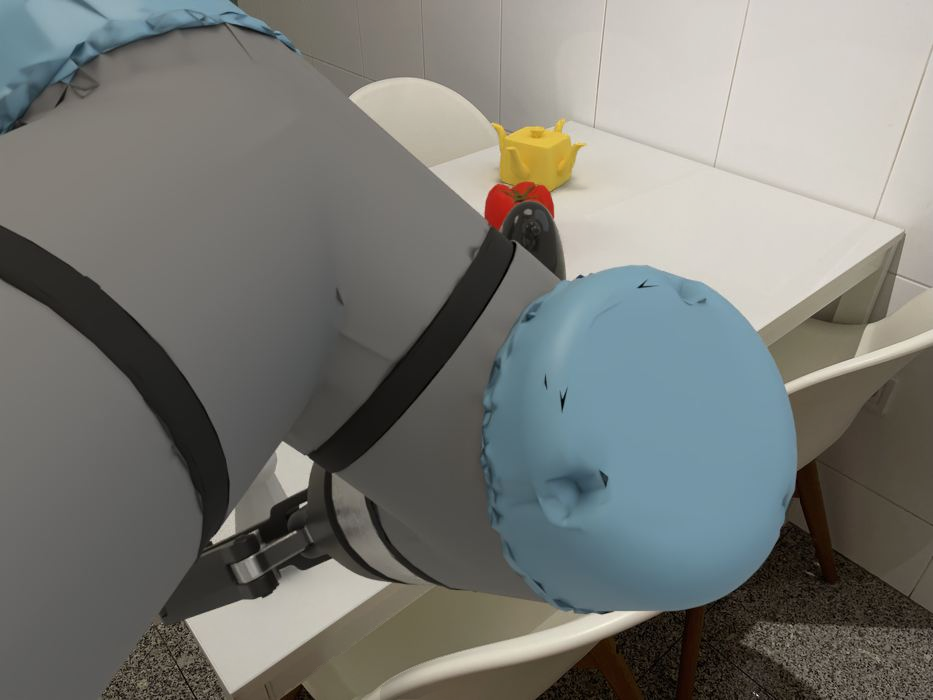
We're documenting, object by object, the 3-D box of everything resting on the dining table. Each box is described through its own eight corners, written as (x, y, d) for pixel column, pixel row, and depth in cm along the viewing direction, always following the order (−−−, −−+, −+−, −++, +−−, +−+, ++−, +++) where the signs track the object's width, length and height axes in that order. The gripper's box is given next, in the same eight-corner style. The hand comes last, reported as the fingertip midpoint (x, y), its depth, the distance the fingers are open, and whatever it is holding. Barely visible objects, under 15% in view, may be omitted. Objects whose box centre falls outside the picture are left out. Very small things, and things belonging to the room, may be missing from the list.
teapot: (490, 167, 134) (490, 117, 128) (561, 162, 135) (565, 112, 130) (505, 199, 122) (506, 145, 116) (583, 192, 124) (588, 139, 118)
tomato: (485, 261, 104) (484, 205, 99) (484, 225, 114) (483, 172, 109) (556, 260, 104) (560, 204, 99) (549, 224, 114) (552, 171, 108)
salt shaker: (317, 564, 61) (293, 459, 53) (253, 594, 59) (217, 488, 51) (295, 519, 65) (269, 415, 57) (234, 545, 63) (199, 440, 55)
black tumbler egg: (492, 332, 89) (492, 223, 80) (484, 290, 98) (484, 187, 89) (571, 327, 90) (580, 219, 81) (557, 286, 98) (563, 183, 89)
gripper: (142, 788, 21) (136, 676, 40) (669, 432, 33) (477, 474, 52) (37, 566, 22) (80, 557, 40) (598, 293, 34) (432, 383, 52)
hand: (304, 510), depth 46 cm, fingers open, 13 cm apart
